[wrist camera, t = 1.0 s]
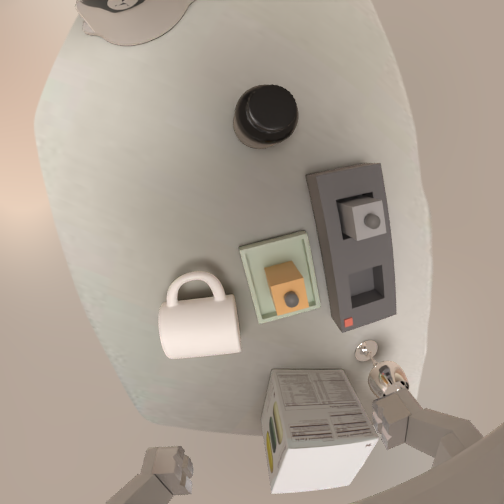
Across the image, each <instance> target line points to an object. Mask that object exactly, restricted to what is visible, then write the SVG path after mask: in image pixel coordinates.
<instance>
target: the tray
mask: <svg viewBox="0 0 504 504" xmlns="http://www.w3.org/2000/svg"><path fill="white" fill-rule="evenodd" d="M239 251H240V255H241V259H242V262H243V266H244V270H245V274H246V277H247V281H248V285H249V288H250V292H251V296H252V299H253V303H254V307H255V311H256V314H257V318H258V322H259V324H261V323H265V322H269V321H273V320H277V319H281V318H284V317H288V316H292V315H295V314H299V313H303V312H306V311H310V310H313V309H317V308H320V307H321V306H320V300H319V294H318V288H317V283H316V277H315V271H314V266H313V261H312V255H311V250H310V245H309V240H308V235H307V233H306V232H305V231H300V232H296V233H292V234H288V235H284V236H280V237H276V238H272V239H268V240H264V241H260V242H256V243H253V244H249V245H245V246H241V247H239ZM288 261H292V262H293V263H294V265H295V266H296V268H297V269H298V270H299V272H300V273H301V275H302V276H303V278H304V283H305V288H306V294H307V299H308V304H309V307H308V308H305V309H301V310H297V311H294V312H290V313H286V314H283V315H279V316H277V313H276V310H275V307H274V304H273V301H272V298H271V295H270V291H269V287H268V283H267V279H266V274H265V270H264V268H265V267H269V266H273V265H277V264H281V263H285V262H288Z"/></svg>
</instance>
